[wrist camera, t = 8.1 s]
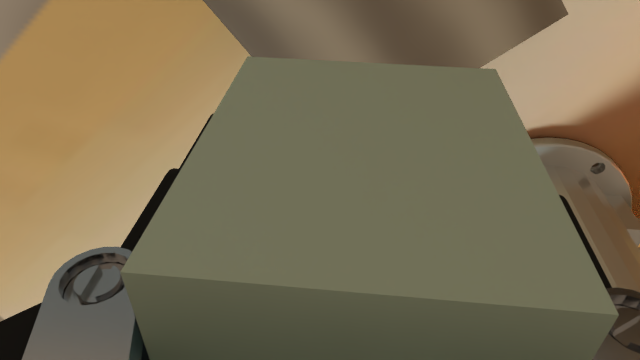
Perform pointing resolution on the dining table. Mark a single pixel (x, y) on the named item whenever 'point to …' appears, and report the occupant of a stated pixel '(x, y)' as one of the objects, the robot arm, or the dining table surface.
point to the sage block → (365, 226)
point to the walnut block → (386, 29)
